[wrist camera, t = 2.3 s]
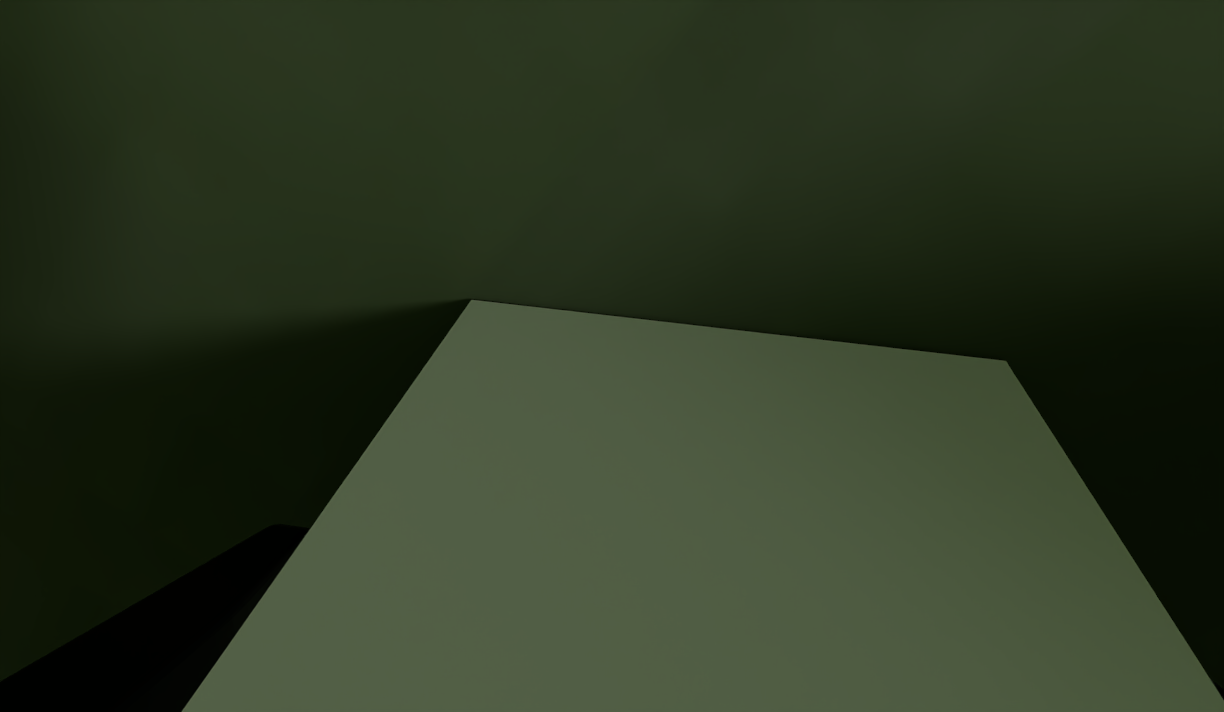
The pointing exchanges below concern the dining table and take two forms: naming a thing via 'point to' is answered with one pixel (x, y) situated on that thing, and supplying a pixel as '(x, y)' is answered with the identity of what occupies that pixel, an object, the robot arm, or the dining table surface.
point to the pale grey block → (706, 541)
